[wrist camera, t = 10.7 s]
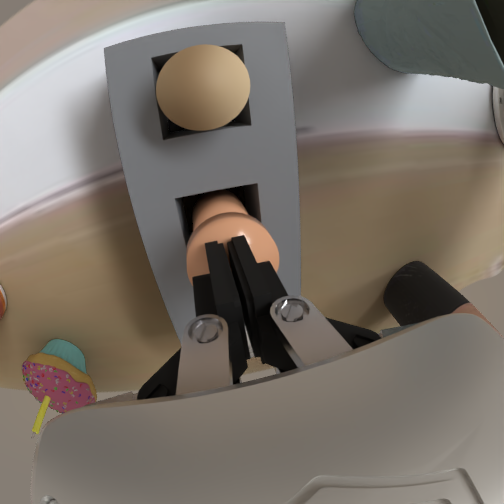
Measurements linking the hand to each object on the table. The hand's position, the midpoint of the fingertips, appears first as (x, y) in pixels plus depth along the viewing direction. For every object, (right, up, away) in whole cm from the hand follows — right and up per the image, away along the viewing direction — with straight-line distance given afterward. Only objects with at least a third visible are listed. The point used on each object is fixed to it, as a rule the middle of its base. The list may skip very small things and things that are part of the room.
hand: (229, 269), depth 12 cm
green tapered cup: (+13, +20, +3) cm, 24 cm away
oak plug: (-2, +11, +3) cm, 11 cm away
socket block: (-2, +4, +8) cm, 9 cm away
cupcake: (-19, -10, +12) cm, 25 cm away
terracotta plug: (-1, +3, +5) cm, 6 cm away
